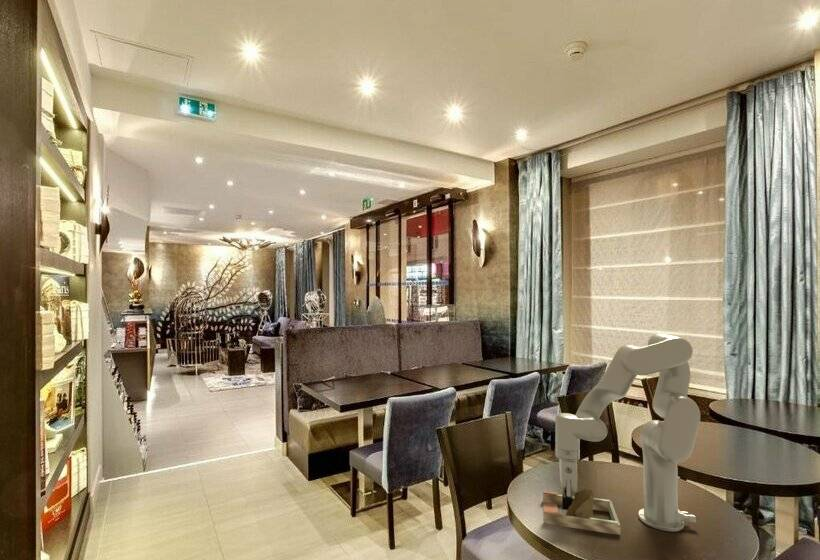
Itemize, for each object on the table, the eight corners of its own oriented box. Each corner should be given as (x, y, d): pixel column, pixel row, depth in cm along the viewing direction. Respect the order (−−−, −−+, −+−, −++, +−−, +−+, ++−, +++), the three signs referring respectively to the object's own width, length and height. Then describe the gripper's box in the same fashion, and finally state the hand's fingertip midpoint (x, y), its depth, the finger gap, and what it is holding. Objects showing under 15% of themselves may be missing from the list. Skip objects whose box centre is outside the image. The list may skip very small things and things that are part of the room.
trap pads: (556, 503, 147) (556, 492, 147) (559, 525, 133) (559, 514, 133) (543, 501, 148) (543, 491, 148) (544, 523, 134) (544, 512, 134)
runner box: (611, 510, 142) (611, 500, 142) (620, 535, 128) (620, 523, 128) (543, 501, 148) (543, 491, 148) (544, 523, 134) (544, 512, 134)
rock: (567, 520, 131) (600, 518, 130) (560, 490, 137) (591, 488, 136) (563, 526, 140) (594, 524, 139) (556, 498, 145) (586, 496, 144)
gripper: (582, 462, 131) (582, 522, 131) (577, 446, 146) (577, 500, 145) (556, 459, 134) (556, 518, 133) (554, 443, 148) (554, 496, 147)
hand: (567, 508), depth 139 cm, fingers closed
